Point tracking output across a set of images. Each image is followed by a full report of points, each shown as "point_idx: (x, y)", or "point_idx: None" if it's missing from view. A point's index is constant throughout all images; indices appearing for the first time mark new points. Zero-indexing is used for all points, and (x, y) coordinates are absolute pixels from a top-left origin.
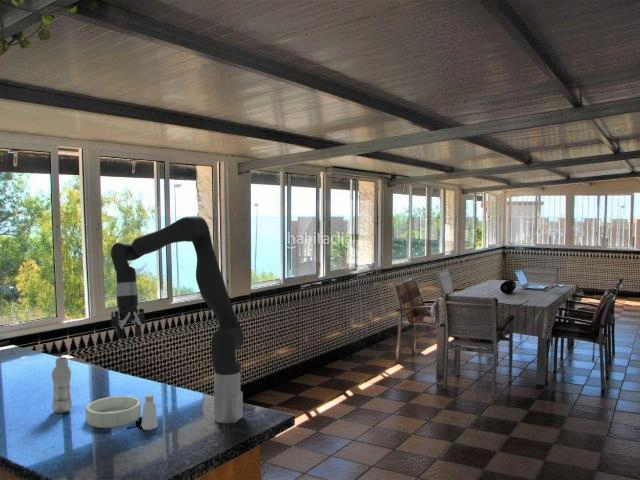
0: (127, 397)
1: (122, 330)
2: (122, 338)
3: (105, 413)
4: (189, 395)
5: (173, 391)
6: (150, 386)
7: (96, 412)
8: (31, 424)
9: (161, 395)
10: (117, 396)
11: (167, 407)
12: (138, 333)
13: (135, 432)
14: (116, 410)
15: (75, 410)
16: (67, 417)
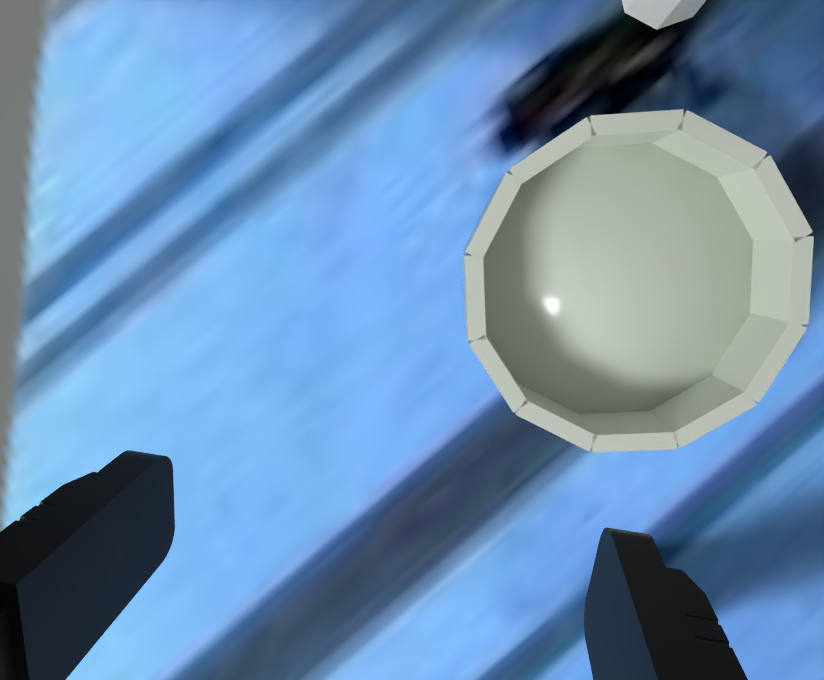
0: (484, 302)
1: (666, 665)
2: (617, 531)
3: (802, 218)
4: (105, 106)
5: (90, 255)
6: (81, 449)
7: (803, 285)
8: (818, 617)
9: (183, 278)
10: (494, 376)
11: (344, 98)
12: (142, 491)
13: (760, 3)
14: (540, 326)
15: (578, 561)
16: (679, 525)
